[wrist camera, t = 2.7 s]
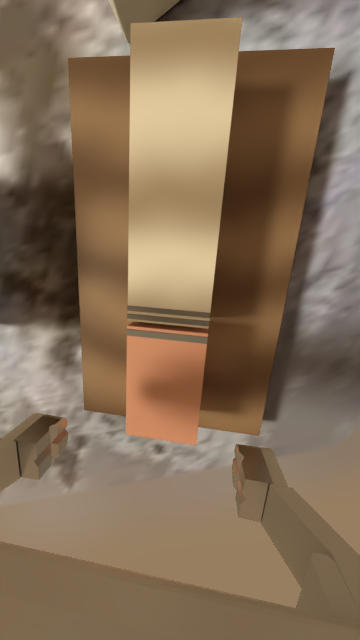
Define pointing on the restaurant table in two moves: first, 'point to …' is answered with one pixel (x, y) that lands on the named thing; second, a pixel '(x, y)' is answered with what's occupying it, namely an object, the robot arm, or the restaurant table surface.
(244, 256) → the board
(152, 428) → the orange rectangular block
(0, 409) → the restaurant table surface
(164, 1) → the small box
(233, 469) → the robot arm
